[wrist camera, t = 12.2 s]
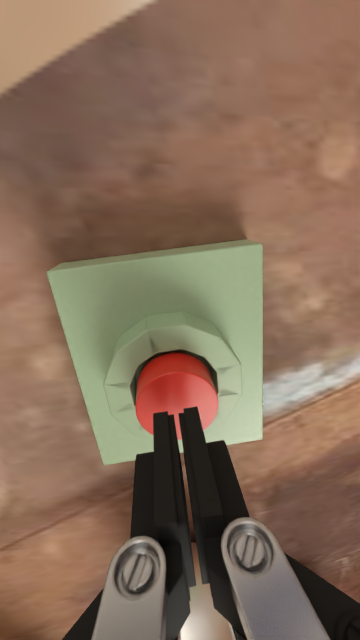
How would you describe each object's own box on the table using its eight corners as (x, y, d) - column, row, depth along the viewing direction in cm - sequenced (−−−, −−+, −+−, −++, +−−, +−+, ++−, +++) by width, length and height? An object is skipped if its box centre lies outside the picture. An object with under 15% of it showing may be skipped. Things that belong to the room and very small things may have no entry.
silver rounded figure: (138, 590, 25) (131, 806, 16) (131, 522, 22) (117, 747, 13) (234, 578, 26) (279, 778, 17) (241, 511, 23) (303, 715, 14)
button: (131, 357, 13) (128, 379, 11) (208, 346, 13) (216, 365, 11) (143, 419, 14) (142, 446, 12) (213, 408, 14) (221, 433, 13)
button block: (60, 263, 14) (28, 280, 11) (247, 238, 15) (280, 247, 11) (108, 438, 19) (97, 494, 15) (251, 415, 19) (275, 464, 16)
